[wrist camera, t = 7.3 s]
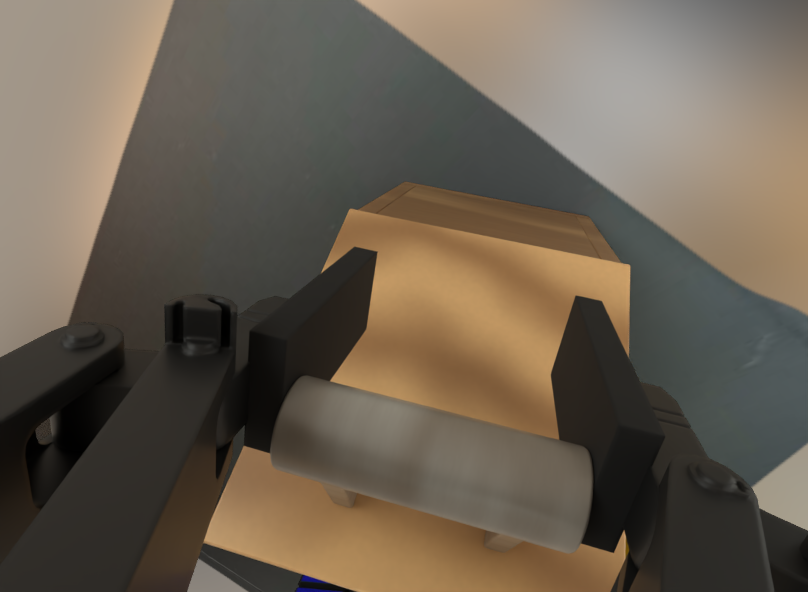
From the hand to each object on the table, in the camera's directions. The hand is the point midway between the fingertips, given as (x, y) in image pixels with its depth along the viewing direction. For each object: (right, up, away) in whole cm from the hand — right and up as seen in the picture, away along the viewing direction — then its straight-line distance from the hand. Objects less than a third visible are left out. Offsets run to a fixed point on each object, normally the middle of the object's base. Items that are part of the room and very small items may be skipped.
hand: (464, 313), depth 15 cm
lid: (0, -3, +4) cm, 5 cm away
